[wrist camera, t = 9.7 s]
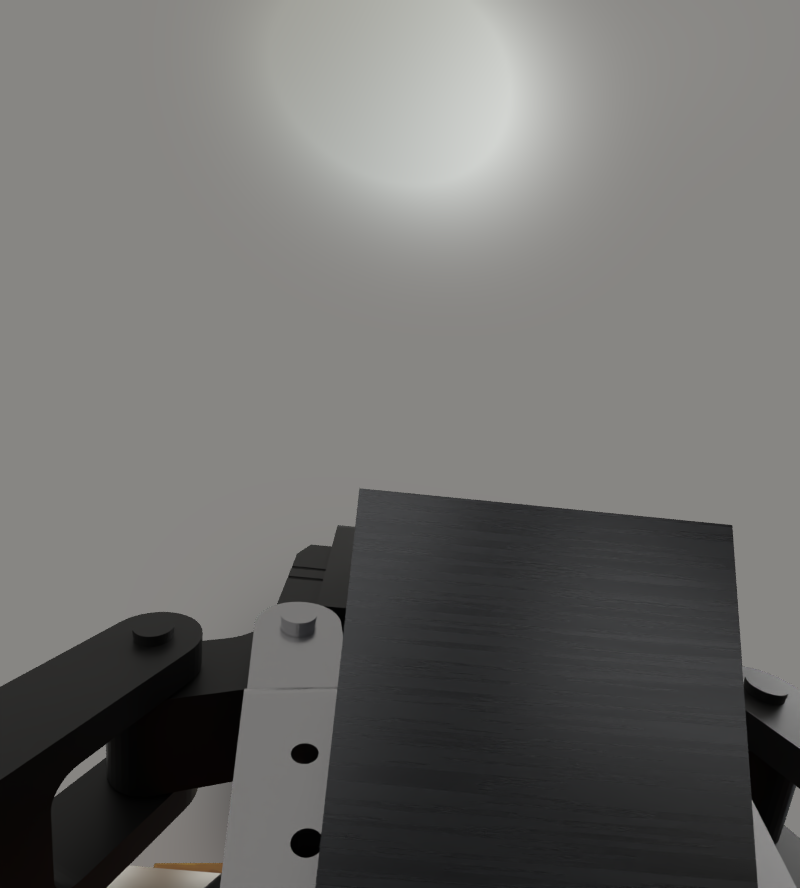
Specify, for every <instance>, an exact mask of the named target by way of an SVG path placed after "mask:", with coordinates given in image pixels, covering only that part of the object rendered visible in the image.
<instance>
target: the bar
mask: <svg viewBox="0 0 800 888" xmlns="http://www.w3.org/2000/svg"><path fill="white" fill-rule="evenodd" d="M741 658H742V657H741V643H740V629H739V615H738V600H737V586H736V573H735V559H734V545H733V530H732V525H725V524H715V523H704V522H694V521H683V520H674V519H664V518H654V517H643V516H633V515H623V514H613V513H603V512H592V511H583V510H573V509H562V508H552V507H542V506H532V505H522V504H511V503H502V502H491V501H481V500H471V499H461V498H451V497H440V496H430V495H420V494H410V493H399V492H390V491H380V490H370V489H360V490H359V499H358V508H357V517H356V526H355V534H354V543H353V552H352V561H351V570H350V579H349V588H348V597H347V606H346V615H345V624H344V633H343V642H342V651H341V660H340V669H339V678H338V687H337V697H336V706H335V715H334V724H333V733H332V742H331V751H330V760H329V769H328V778H327V787H326V796H325V805H324V814H323V823H322V832H321V841H320V850H319V859H318V868H317V877H316V886H315V888H758V881H757V867H756V853H755V839H754V825H753V811H752V797H751V783H750V769H749V755H748V741H747V727H746V713H745V699H744V685H743V671H742V659H741Z"/></svg>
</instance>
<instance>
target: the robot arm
mask: <svg viewBox="0 0 800 888" xmlns="http://www.w3.org/2000/svg"><path fill="white" fill-rule="evenodd" d="M354 534H355V527H350V526H339V525H338V527H337V530H336V534H335V537H334V541H333V545H332V547H330V546H329V547H328V546H319V545H310V546H308V547H307V548H305V549H304V550H302V551H301V552H299V553H298V554H297V555H296V558H295V561H294V563H293V566H292V569H291V571H290V573H289V576H288V578H287V581H286V583H285V586H284V588H283V591H282V593H281V596H280V598H279V601H278V603H277V605H274V606H271V607H269V608H267V609H266V610H264V611H263V612H261V613H260V614H259V615H258V617H257V618H256V621H255V624H254V632H251V633H249V634H246V635H243V636H238V637H234V638H227V639H218V640H207V641H202V634H203V633H202V628H201V626H200V624H199V623H198V622H197V621H196V620H194V619H193V618H191V617H188V616H186V615H182V614H178V613H171V612H155V613H147V614H141V615H138V616H134V617H131V618H128V619H126V620H124V621H122V622H119V623H118V624H116V625H114V626H112V627H111V628H108V629H106V630H105V631H103V632H101V633H99V634H97V635H95V636H93V637H92V638H90V639H88V640H86V641H84V642H82V643H81V644H79V645H77V646H75V647H73V648H71V649H70V650H68V651H66V652H64V653H62V654H60V655H58V656H56V657H55V658H53V659H51V660H49V661H47V662H46V663H44V664H42V665H40V666H38V667H36V668H34V669H32V670H31V671H29V672H27V673H25V674H23V675H21V676H20V677H18V678H16V679H14V680H12V681H10V682H8V683H7V684H5V685H3V686H1V687H0V888H107V887H108V886H109V885H110V884H111V883H112V882H113V881H114V880H115V879H116V878H117V877H118V876H119V875H120V874H121V873H122V872H123V871H124V870H125V869H126V868H127V867H128V866H129V865H130V863H132V862H133V861H134V860H135V859H136V858H137V857H138V856H139V855H140V854H141V853H142V852H143V851H144V850H145V849H146V848H147V847H148V846H149V845H150V844H151V843H152V842H153V841H154V840H155V839H156V838H157V837H158V835H160V834H161V833H162V832H163V831H164V830H165V829H166V828H167V826H168V825H170V824H171V823H172V822H173V821H174V819H175V818H177V817H178V816H179V815H180V814H181V812H183V811H184V809H185V808H186V807H187V806H188V805H189V804H190V803H191V802H192V800H193V798H194V797H195V795H196V792H197V789H198V788H200V787H205V786H211V785H216V784H221V783H226V782H232V781H233V786H232V793H231V801H230V809H229V818H228V826H227V834H226V843H225V850H224V859H223V867H222V873H221V874H220V875H219V876H217V877H216V878H215V879H214V880H213V881H211V882H210V883H209V884H208V885H207V886H206V887H205V888H315V886H316V877H317V868H318V859H319V850H320V841H321V832H322V823H323V814H324V805H325V796H326V787H327V778H328V769H329V760H330V751H331V742H332V733H333V724H334V715H335V706H336V697H337V687H338V678H339V669H340V660H341V651H342V642H343V633H344V624H345V615H346V606H347V597H348V588H349V579H350V570H351V561H352V552H353V543H354ZM742 671H743V685H744V699H745V713H746V727H747V741H748V755H749V769H750V783H751V797H752V811H753V825H754V839H755V853H756V867H757V881H758V888H800V838H799V837H798V836H796V835H795V834H794V833H793V832H792V831H791V830H789V829H788V828H787V827H786V826H785V825H784V823H785V820H786V816H787V813H788V810H789V807H790V803H791V801H792V797H793V794H794V791H795V788H796V786H797V787H798V788H800V690H799V689H798V688H796V687H795V686H793V685H791V684H790V683H788V682H786V681H784V680H782V679H780V678H778V677H776V676H774V675H771V674H769V673H766V672H763V671H760V670H757V669H753V668H748V667H743V666H742ZM105 744H106V758H105V759H103V760H102V761H101V762H100V763H98V764H97V765H96V766H95V767H93V768H92V769H91V770H89V771H88V772H87V773H85V774H84V775H83V776H81V777H80V778H79V779H77V780H76V781H75V782H74V783H73V784H71V785H70V786H69V787H67V788H66V789H64V790H63V791H62V792H61V793H59V794H58V795H57V796H55V794H56V791H57V790H58V788H59V786H60V784H61V783H62V782H63V780H64V778H65V777H66V776H67V775H68V774H69V773H70V772H71V771H72V770H73V769H74V768H75V767H76V766H77V765H79V764H80V763H81V762H83V761H84V760H85V759H87V758H88V757H89V756H91V755H92V754H93V753H95V752H96V751H97V750H99V749H100V748H101V747H103V746H104V745H105ZM54 796H55V797H54Z"/></svg>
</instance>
